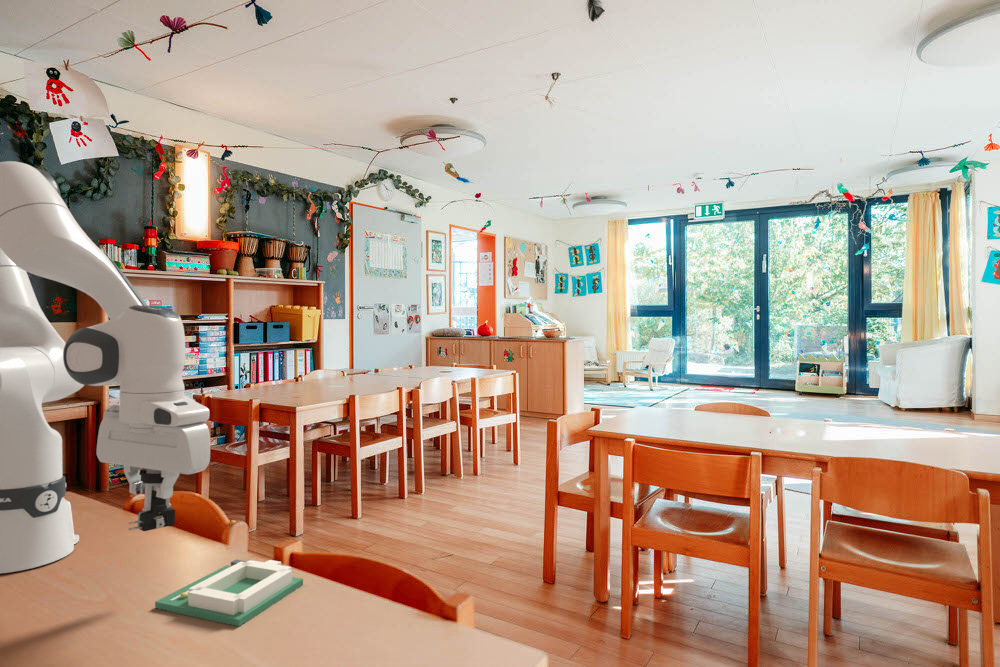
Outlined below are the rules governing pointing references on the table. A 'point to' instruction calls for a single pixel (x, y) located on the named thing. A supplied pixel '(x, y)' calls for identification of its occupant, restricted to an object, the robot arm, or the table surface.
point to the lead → (236, 562)
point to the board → (233, 592)
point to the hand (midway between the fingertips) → (150, 495)
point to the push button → (154, 504)
